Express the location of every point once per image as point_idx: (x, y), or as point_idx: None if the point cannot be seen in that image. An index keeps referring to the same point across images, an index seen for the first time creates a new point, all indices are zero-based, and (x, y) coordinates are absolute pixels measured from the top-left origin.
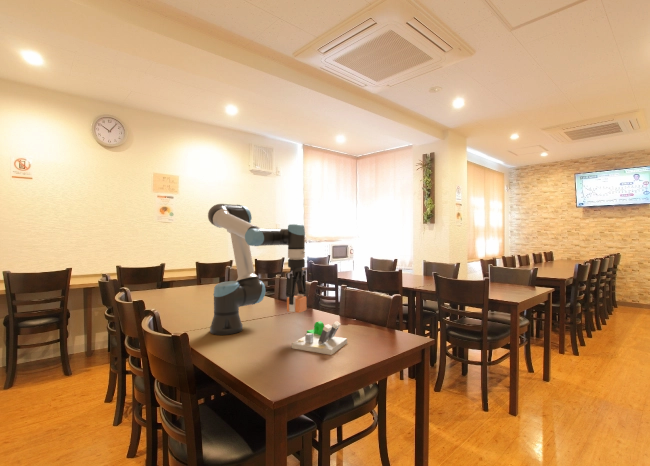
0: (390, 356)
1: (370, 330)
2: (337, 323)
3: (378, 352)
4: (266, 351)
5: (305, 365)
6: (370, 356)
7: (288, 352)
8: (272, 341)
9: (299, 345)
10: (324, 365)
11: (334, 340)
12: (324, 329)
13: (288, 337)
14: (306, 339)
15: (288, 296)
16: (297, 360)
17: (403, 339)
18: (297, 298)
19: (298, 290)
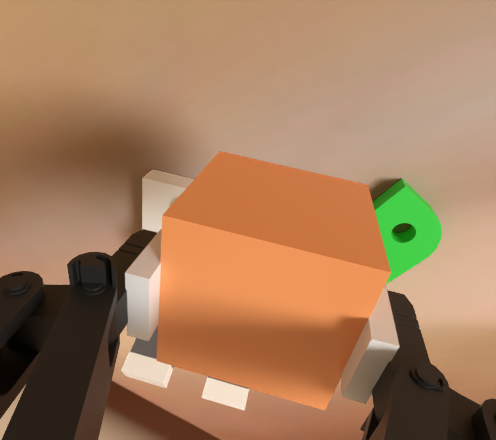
0: (202, 429)
1: None
2: (224, 404)
3: (222, 413)
4: (64, 65)
5: (37, 256)
6: (183, 395)
7: (103, 171)
8: (210, 18)
9: (143, 213)
10: None
11: None
12: (129, 358)
13: (311, 90)
14: None
15: (62, 285)
16: (55, 225)
17: None
18: (178, 342)
19: (387, 409)
